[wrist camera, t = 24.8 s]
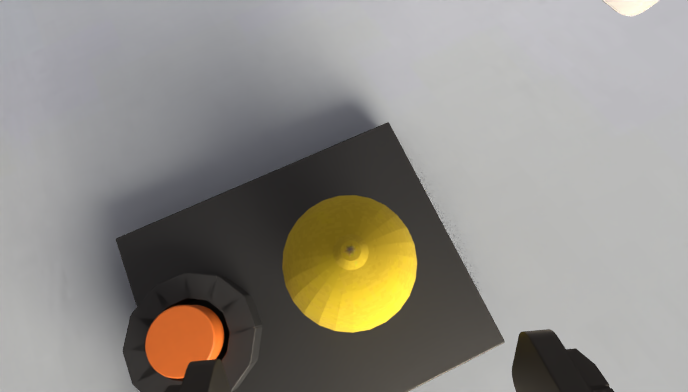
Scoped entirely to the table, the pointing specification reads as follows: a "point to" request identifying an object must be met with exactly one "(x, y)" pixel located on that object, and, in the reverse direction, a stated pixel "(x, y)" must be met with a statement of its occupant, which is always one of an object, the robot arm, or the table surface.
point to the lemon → (349, 263)
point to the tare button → (183, 339)
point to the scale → (273, 297)
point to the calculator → (630, 6)
